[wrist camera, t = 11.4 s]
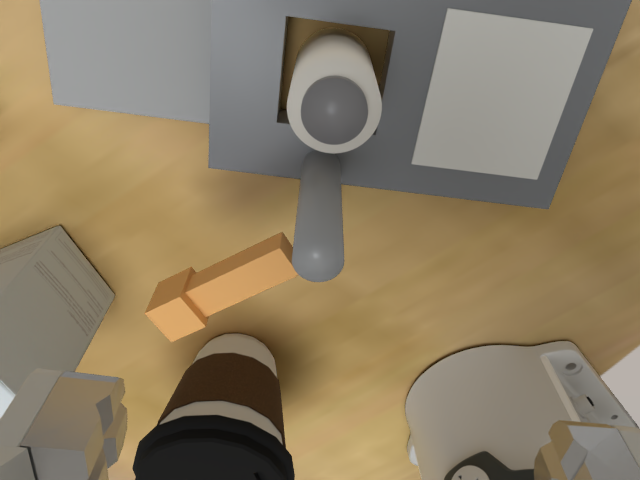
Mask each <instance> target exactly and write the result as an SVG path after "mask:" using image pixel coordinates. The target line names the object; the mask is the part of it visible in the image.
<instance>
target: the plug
mask: <svg viewBox="0 0 640 480" xmlns="http://www.w3.org/2000/svg"><path fill="white" fill-rule="evenodd" d="M381 112H382V101H381V95H380V91H379V88H378V84H377V81H376V77H375V73H374V70H373V66H372V62H371V59H370V55H369V52H368V50H367V48H366V46H365V44H364V43H363V42H362V40H361V39H360V38H359V37H358V36H356V35H355V34H354V33H352V32H350V31H348V30H345V29H342V28H326V29H322V30H319V31H317V32H315V33H314V34H312V35H311V36H310V37H308V38H307V39H306V40H305V42H304V43H303V44H302V46H301V48H300V50H299V52H298V55H297V58H296V63H295V67H294V72H293V76H292V81H291V86H290V90H289V95H288V100H287V115H288V120H289V122H290V125H291V127H292V129H293V131H294V132H295V134H296V135H297V136H298V138H299V139H300V140H301V141H302V142H304V143H305V144H306V145H308V146H309V147H311V148H313V149H315V150H318V151H320V152H325V153H343V152H347V151H350V150H353V149H355V148H357V147H359V146H361V145H362V144H363V143H365V142H366V141H367V140H368V139H369V138H370V137H371V135H372V134H373V133H374V131H375V130H376V128H377V126H378V124H379V121H380V118H381Z"/></svg>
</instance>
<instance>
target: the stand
mask: <svg viewBox="0 0 640 480" xmlns="http://www.w3.org/2000/svg"><path fill="white" fill-rule="evenodd" d="M631 1H632V0H212V6H211V60H210V114H209V167H208V168H213V169H221V170H229V171H238V172H246V173H254V174H262V175H270V176H279V177H287V178H295V179H300V188H299V198H298V207H297V216H296V225H295V235H294V244H293V253H292V265H293V268H294V270H295V271H296V272H297V274H298V275H300V276H301V277H302V278H304V279H306V280H309V281H313V282H324V281H328V280H331V279H333V278H334V277H336V276H337V275H338V274H339V273H340V272H341V270H342V268H343V266H344V243H343V218H342V194H341V184H344V185H353V186H361V187H369V188H377V189H385V190H394V191H402V192H410V193H418V194H426V195H435V196H443V197H451V198H459V199H467V200H476V201H484V202H492V203H500V204H509V205H517V206H525V207H533V208H541V209H549V207H550V204H551V202H552V199H553V197H554V194H555V192H556V189H557V187H558V184H559V182H560V179H561V177H562V174H563V172H564V169H565V167H566V164H567V162H568V159H569V157H570V154H571V152H572V149H573V147H574V144H575V141H576V139H577V136H578V134H579V131H580V129H581V126H582V124H583V121H584V119H585V116H586V114H587V111H588V109H589V106H590V104H591V101H592V99H593V96H594V94H595V91H596V89H597V86H598V84H599V81H600V79H601V76H602V74H603V71H604V69H605V66H606V64H607V61H608V59H609V56H610V54H611V51H612V49H613V46H614V44H615V41H616V39H617V36H618V34H619V31H620V29H621V26H622V24H623V21H624V19H625V16H626V14H627V11H628V9H629V6H630V4H631ZM288 16H290V17H297V18H304V19H312V20H319V21H326V22H333V23H341V24H348V25H355V26H363V27H370V28H377V29H384V30H390V32H389V37H388V42H387V48H386V53H385V59H384V64H383V69H382V75H381V80H380V86H379V91H380V95H381V101H382V112H381V118H380V121H379V124H378V126H377V128H376V130H375V131H374V133H373V134H372V135H371V137H370V138H369V139H368V140H367V141H366V142H365V143H363V144H362V145H361V146H359V147H357V148H355V149H353V150H350V151H347V152H343V153H325V152H320V151H318V150H315V149H313V148H311V147H309V146H308V145H306V144H305V143H304V142H302V141H301V140H300V139H299V138H298V136H297V135H296V134H295V132H294V131H293V129H292V127H291V125H290V122H289V120H288V115H287V110H281V109H280V103H281V92H282V81H283V70H284V59H285V47H286V36H287V25H288Z"/></svg>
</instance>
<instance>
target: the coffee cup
mask: <svg viewBox="0 0 640 480" xmlns="http://www.w3.org/2000/svg"><path fill="white" fill-rule="evenodd" d="M133 471H134V473H135V476H136V478H135V480H294V477H295V475H294V468H293V462H292V456H291V454H290V453H289V452H288V451H287V450H286V445H285V435H284V424H283V413H282V402H281V392H280V386H279V380H278V379H277V372H276V365H275V359H274V357H273V356H272V354H271V353H270V351H269V350H268V348H267V347H266V346H265V344H263V343H262V342H260V341H259V340H257V339H256V338H254V337H251V336H248V335H244V334H240V333H236V334H224V335H221V336H219V337H216V338H214V339H212V340H211V341H209V342H208V343H207V344H206V345H205V346H204V347H203V348H202V349H201V350H200V351H199V352H198V354H197V356H196V358H195V360H194V362H193V363H192V365H191V366H190V367H189V368H188V369H187V370H186V372H185V373H184V375H183V377H182V379H181V381H180V383H179V384H178V386H177V388H176V390H175V392H174V394H173V395H172V397H171V399H170V401H169V403H168V404H167V406H166V408H165V410H164V412H163V414H162V415H161V417H160V419H159V421H158V424H157V426H156V427H155V428H154V429H153V430H152V431H150V432H149V433H148V434H147V435H146V436H145V437H144V438H143V439H142V440H141V441H140V442H139V445H138V448H137V452H136V456H135V460H134V465H133Z"/></svg>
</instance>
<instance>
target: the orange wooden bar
mask: <svg viewBox="0 0 640 480" xmlns="http://www.w3.org/2000/svg"><path fill="white" fill-rule="evenodd" d="M292 253H293V247H292V245H291V244H290V242H289V241H288V239H287V238H286V237H285V235H284V234H283V232H281V233H279V234H277V235H274V236H272V237H270V238H268V239H266V240H264V241H262V242H260V243H258V244H256V245H254V246H252V247H250V248H247V249H245V250H243V251H241V252H239V253H237V254H235V255H233V256H231V257H229V258H227V259H225V260H222V261H220V262H218V263H216V264H214V265H212V266H210V267H208V268H206V269H204V270H202V271H200V272H198V273H196V272H195V271H194V269H193V268H192V267H190V268H188V269H186V270H184V271H182V272H180V273H178V274H176V275H173V276H171V277H169V278H167V279H165V280H163V281H161V282H159V283H158V285H157V287H156V290H155V292H154V294H153V296H152V298H151V301H150V303H149V305H148V307H147V309H146V311H145V314H146V315H147V316H148V318H149V319H150V320H151V321H152V322H153V323H154V324H155V325H156V326H157V327H158V328H159V329H160V330H161V332H162V333H163V334H164V335H165V336H166V337H167V338H168V339H169V340H170V341H171V342H173V341H175V340H178V339H180V338H182V337H184V336H186V335H189V334H191V333H193V332H195V331H198V330H200V329H202V328H204V327H206V325H207V321H208V318H209V316H210V315H212V314H214V313H216V312H218V311H221V310H223V309H225V308H227V307H229V306H232V305H234V304H236V303H238V302H241V301H243V300H245V299H247V298H249V297H252V296H254V295H256V294H258V293H260V292H263V291H265V290H267V289H269V288H272V287H274V286H276V285H278V284H280V283H283V282H285V281H287V280H289V279H292V278H294V277H296V276H298V274H297V272H296V271H295V270H294V268H293V265H292Z"/></svg>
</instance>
